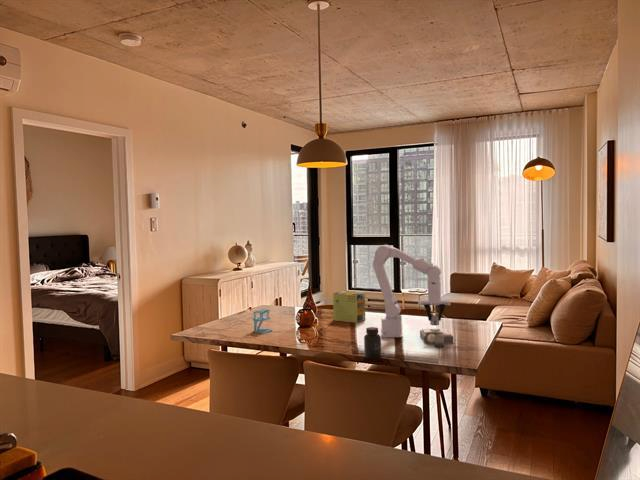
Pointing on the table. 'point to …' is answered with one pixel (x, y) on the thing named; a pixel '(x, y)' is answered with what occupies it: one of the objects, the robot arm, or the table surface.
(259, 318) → the teal open frame stand
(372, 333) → the supplement bottle
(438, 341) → the cylinder
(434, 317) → the cylinder
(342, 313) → the protein box
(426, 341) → the scale
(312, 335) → the table surface
